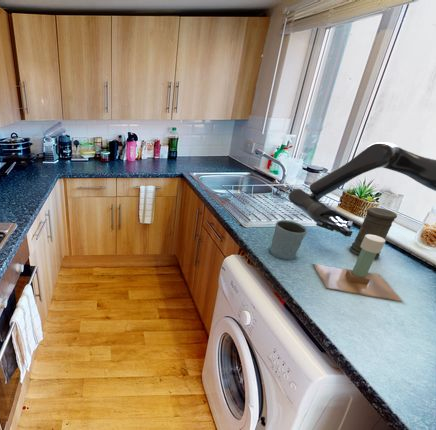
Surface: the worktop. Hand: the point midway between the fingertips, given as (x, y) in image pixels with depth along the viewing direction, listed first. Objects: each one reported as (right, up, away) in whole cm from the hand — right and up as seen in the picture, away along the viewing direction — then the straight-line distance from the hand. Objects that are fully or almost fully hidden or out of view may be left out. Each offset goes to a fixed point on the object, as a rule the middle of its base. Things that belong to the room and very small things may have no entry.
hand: (349, 234), depth 100 cm
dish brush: (-1, -15, -4) cm, 16 cm away
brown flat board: (-2, -16, -4) cm, 16 cm away
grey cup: (-17, -8, +11) cm, 22 cm away
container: (+16, -8, +13) cm, 22 cm away
